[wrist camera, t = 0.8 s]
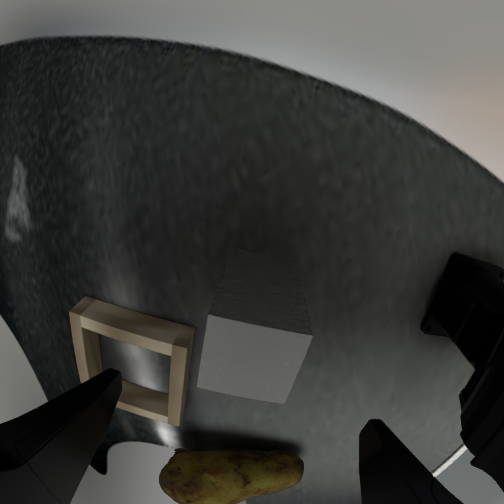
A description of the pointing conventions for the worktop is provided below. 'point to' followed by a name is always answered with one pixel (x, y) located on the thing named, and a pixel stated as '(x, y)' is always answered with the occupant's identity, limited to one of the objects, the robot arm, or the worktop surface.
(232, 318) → the brushed grey square prism
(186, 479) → the potato
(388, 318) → the worktop surface
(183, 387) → the frame
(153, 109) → the worktop surface
